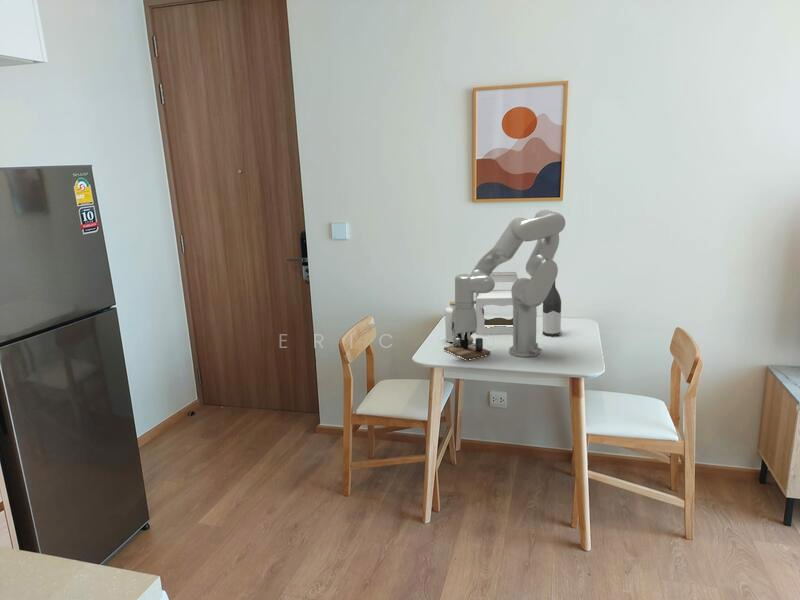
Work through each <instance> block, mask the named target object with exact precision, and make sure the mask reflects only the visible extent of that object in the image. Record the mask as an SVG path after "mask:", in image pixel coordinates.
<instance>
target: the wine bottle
mask: <svg viewBox="0 0 800 600" xmlns="http://www.w3.org/2000/svg"><path fill="white" fill-rule="evenodd" d="M561 324H562V299H561V295H560V293H559V291H558V289H557V288H556V280H555V281H554V283H553V285H552V287H551V289H550V291H549V293H548V295H547V297H546V299H545V300H544V302H543V303H542V335H543V336H545V337H549V336H551V337H550V338H552V337H553V338H554V337H560V335H561V329H562V327H561V326H562V325H561Z"/></svg>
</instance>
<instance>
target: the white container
mask: <svg viewBox="0 0 800 600" xmlns="http://www.w3.org/2000/svg"><path fill="white" fill-rule="evenodd" d="M453 308H455V301H450V302H449V306H448V307H447V308H445V311H444V312H445V314H444V315H445V318H444V320H445V340H446V342H447V341H448V342H447V343H449V342H453V337H456V336H453V335H452V330H451V317H452V311H453Z"/></svg>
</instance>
